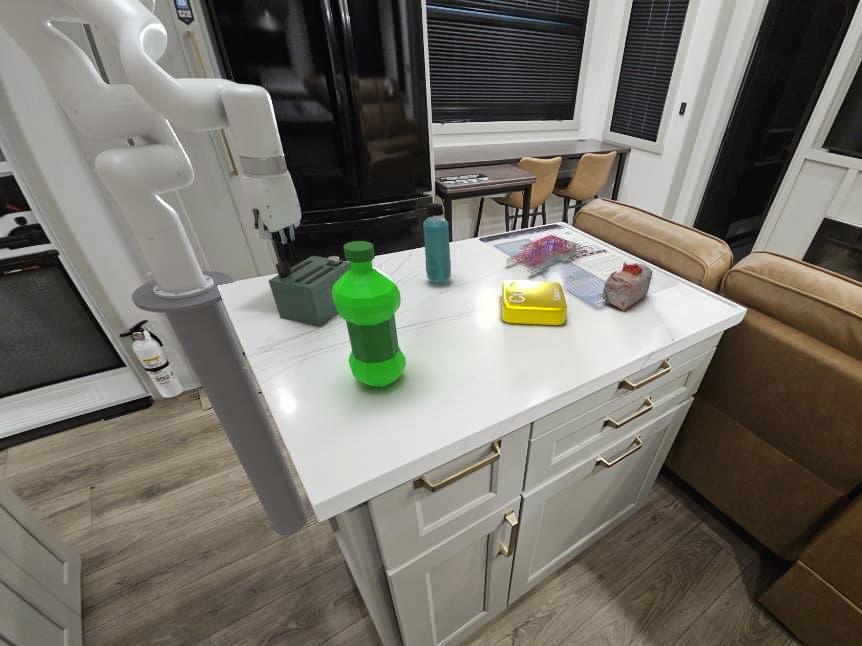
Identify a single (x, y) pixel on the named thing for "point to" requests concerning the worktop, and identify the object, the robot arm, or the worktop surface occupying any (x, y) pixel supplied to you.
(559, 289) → the element tile
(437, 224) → the beverage bottle
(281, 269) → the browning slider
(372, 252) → the plastic bottle
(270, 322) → the worktop surface
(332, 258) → the button
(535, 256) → the purple mottled irregular slab
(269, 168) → the robot arm
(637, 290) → the food item
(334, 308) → the toaster
